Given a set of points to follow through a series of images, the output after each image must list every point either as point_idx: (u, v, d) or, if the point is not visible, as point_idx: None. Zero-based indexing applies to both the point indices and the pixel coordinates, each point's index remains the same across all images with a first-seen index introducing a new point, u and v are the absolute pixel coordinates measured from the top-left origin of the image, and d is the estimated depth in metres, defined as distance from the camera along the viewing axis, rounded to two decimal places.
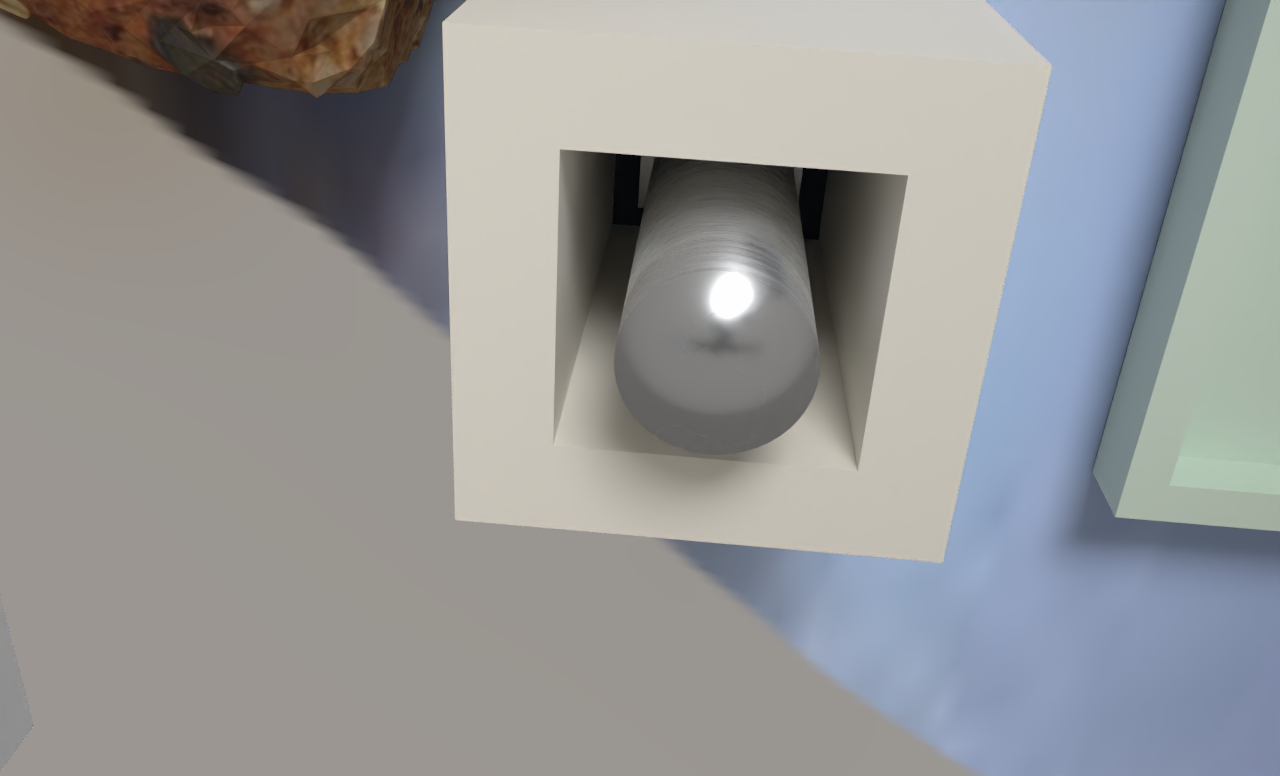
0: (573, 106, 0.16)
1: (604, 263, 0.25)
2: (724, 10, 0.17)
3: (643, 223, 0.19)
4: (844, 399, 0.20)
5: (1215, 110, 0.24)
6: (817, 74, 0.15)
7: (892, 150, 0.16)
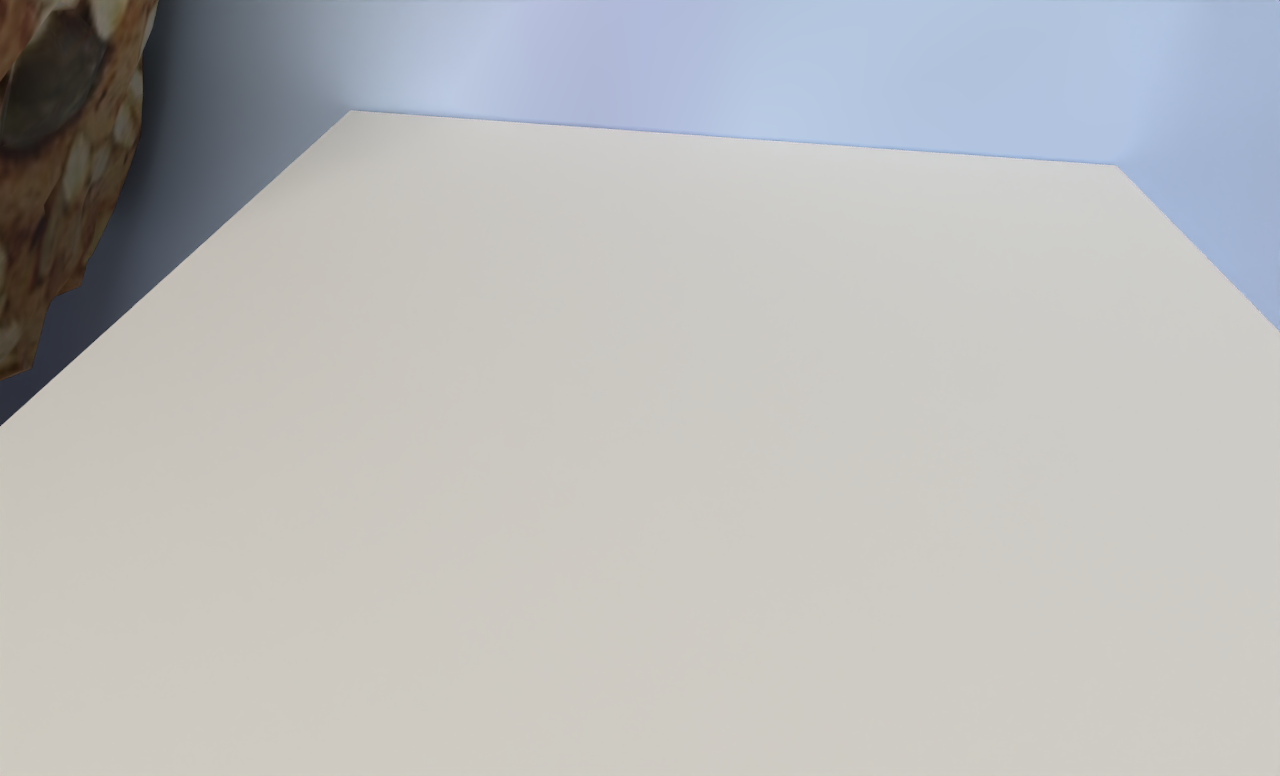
0: None
1: None
2: (669, 614, 0.05)
3: None
4: None
5: None
6: None
7: None
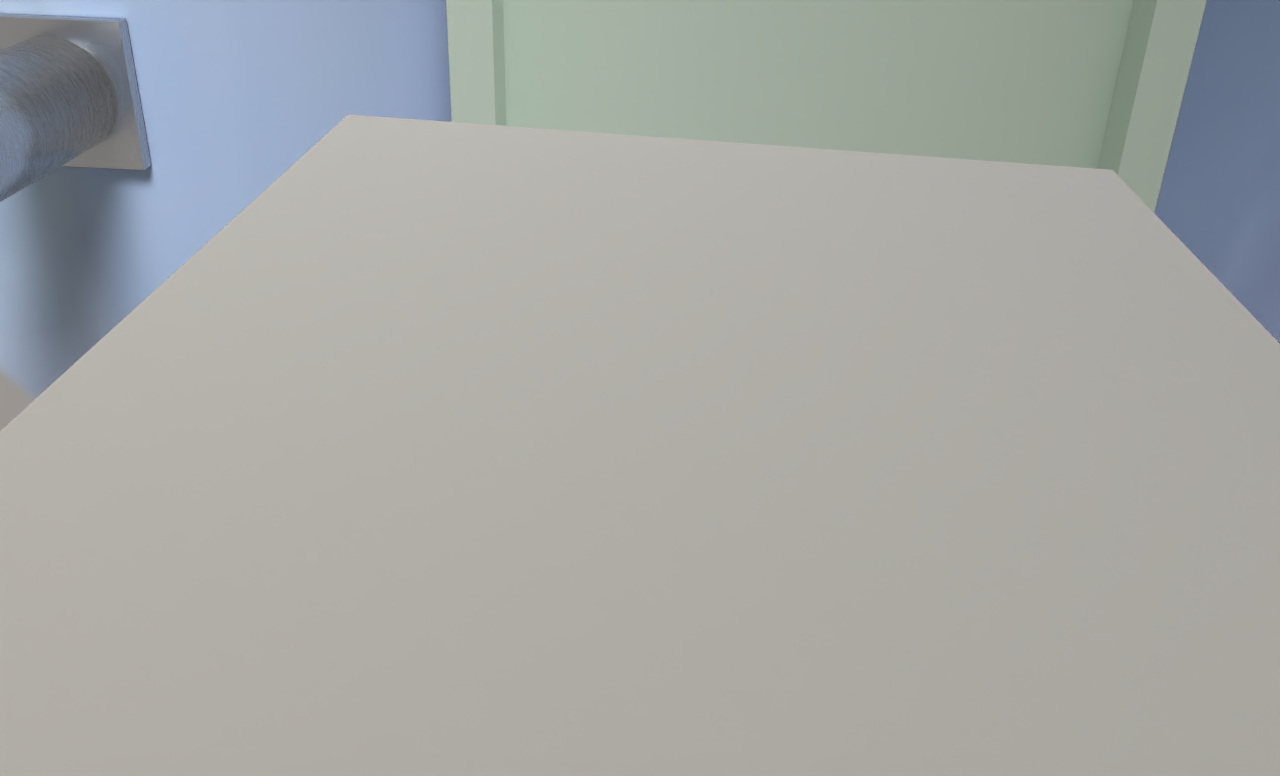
0: None
1: None
2: (662, 621, 0.05)
3: None
4: None
5: None
6: None
7: None
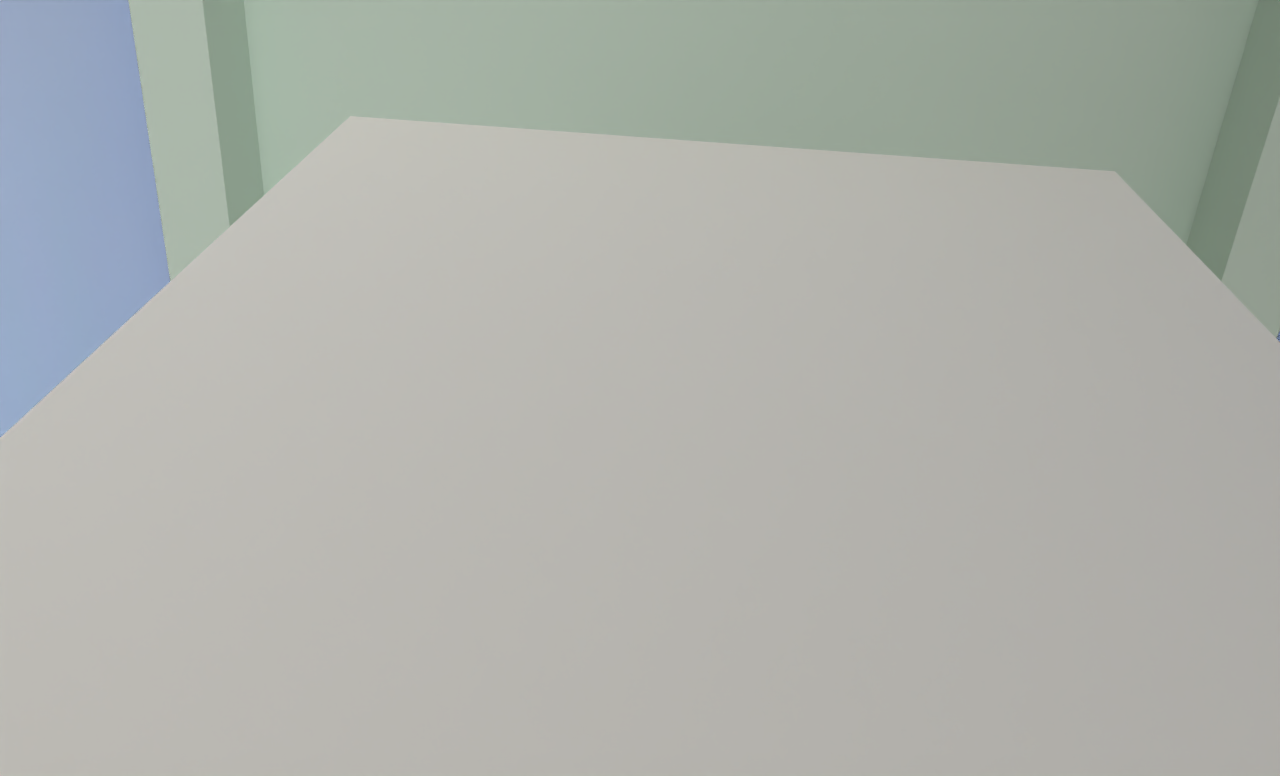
0: None
1: None
2: (668, 625, 0.05)
3: None
4: None
5: None
6: None
7: None
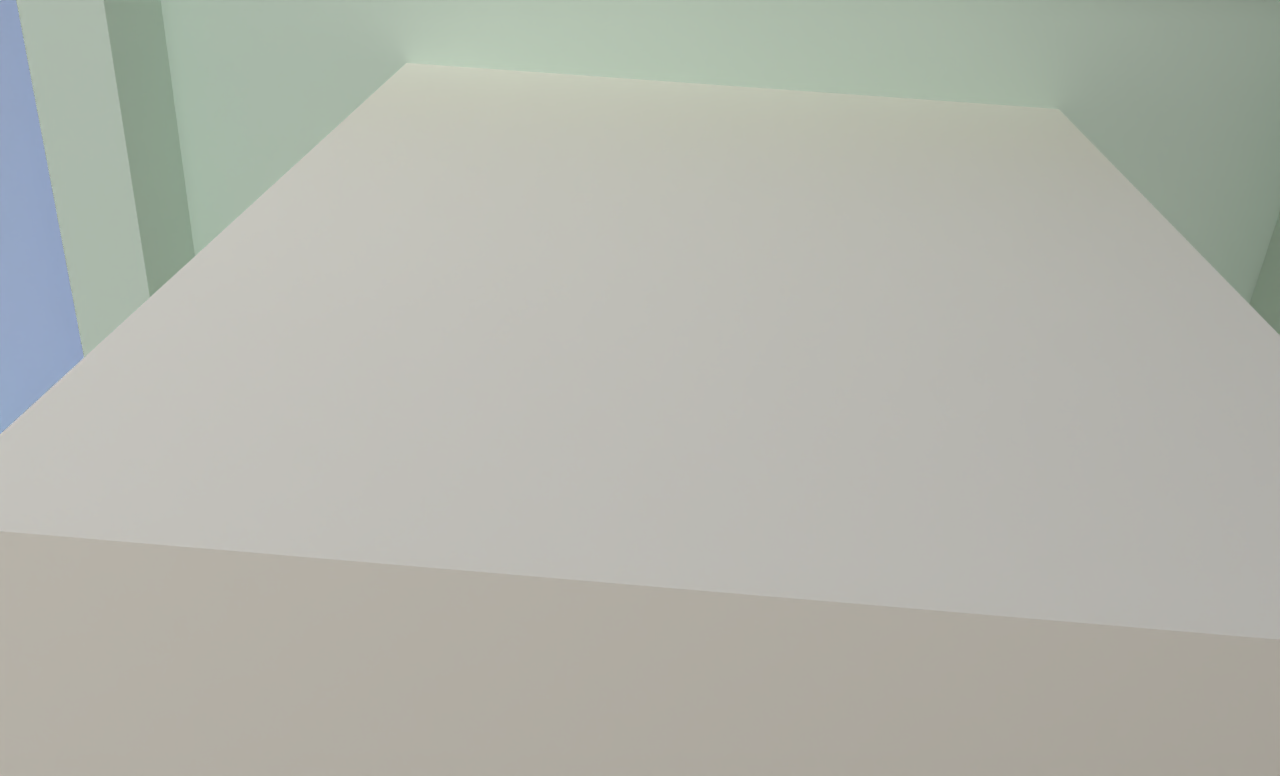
0: (285, 709, 0.06)
1: None
2: (687, 376, 0.07)
3: None
4: None
5: None
6: (935, 666, 0.06)
7: None
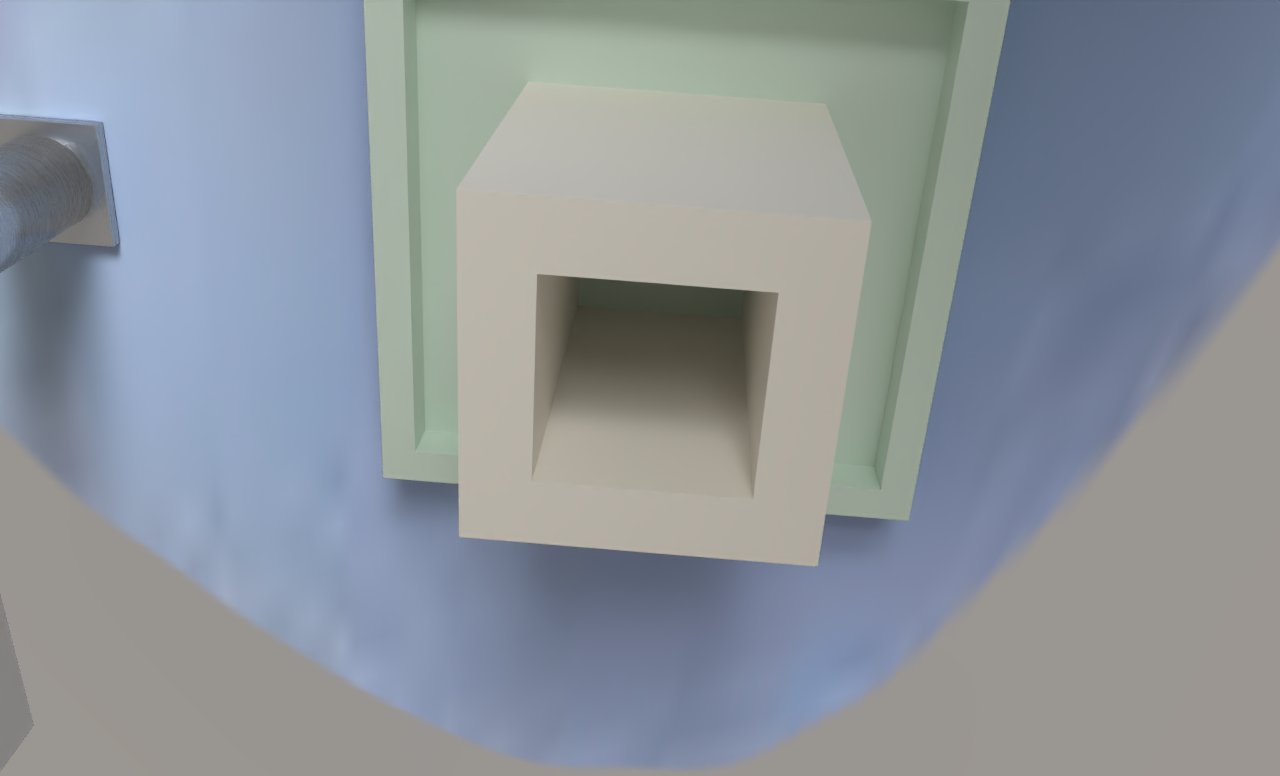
0: (546, 245, 0.23)
1: (571, 339, 0.32)
2: (653, 172, 0.24)
3: None
4: (749, 446, 0.27)
5: None
6: (713, 226, 0.23)
7: (766, 276, 0.23)
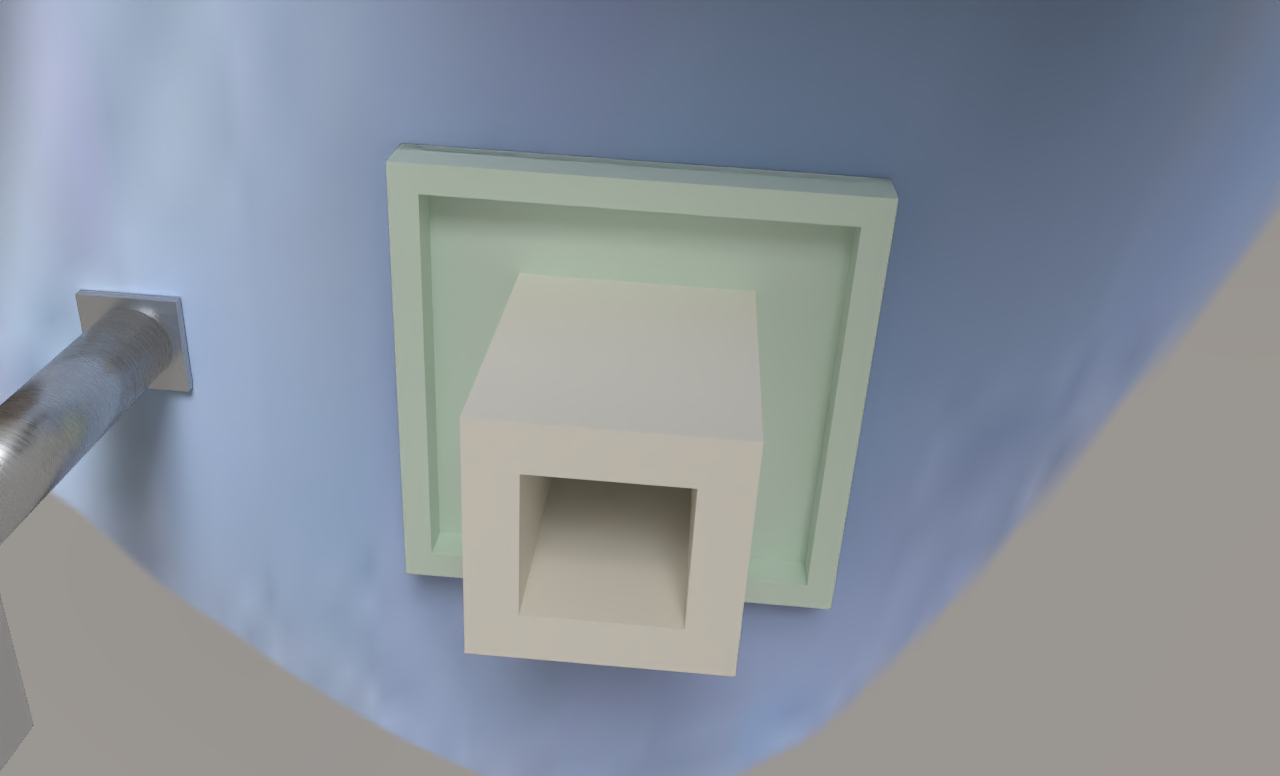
0: (526, 455, 0.31)
1: None
2: (607, 390, 0.33)
3: None
4: (687, 579, 0.36)
5: None
6: (648, 444, 0.31)
7: (688, 477, 0.31)
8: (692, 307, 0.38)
